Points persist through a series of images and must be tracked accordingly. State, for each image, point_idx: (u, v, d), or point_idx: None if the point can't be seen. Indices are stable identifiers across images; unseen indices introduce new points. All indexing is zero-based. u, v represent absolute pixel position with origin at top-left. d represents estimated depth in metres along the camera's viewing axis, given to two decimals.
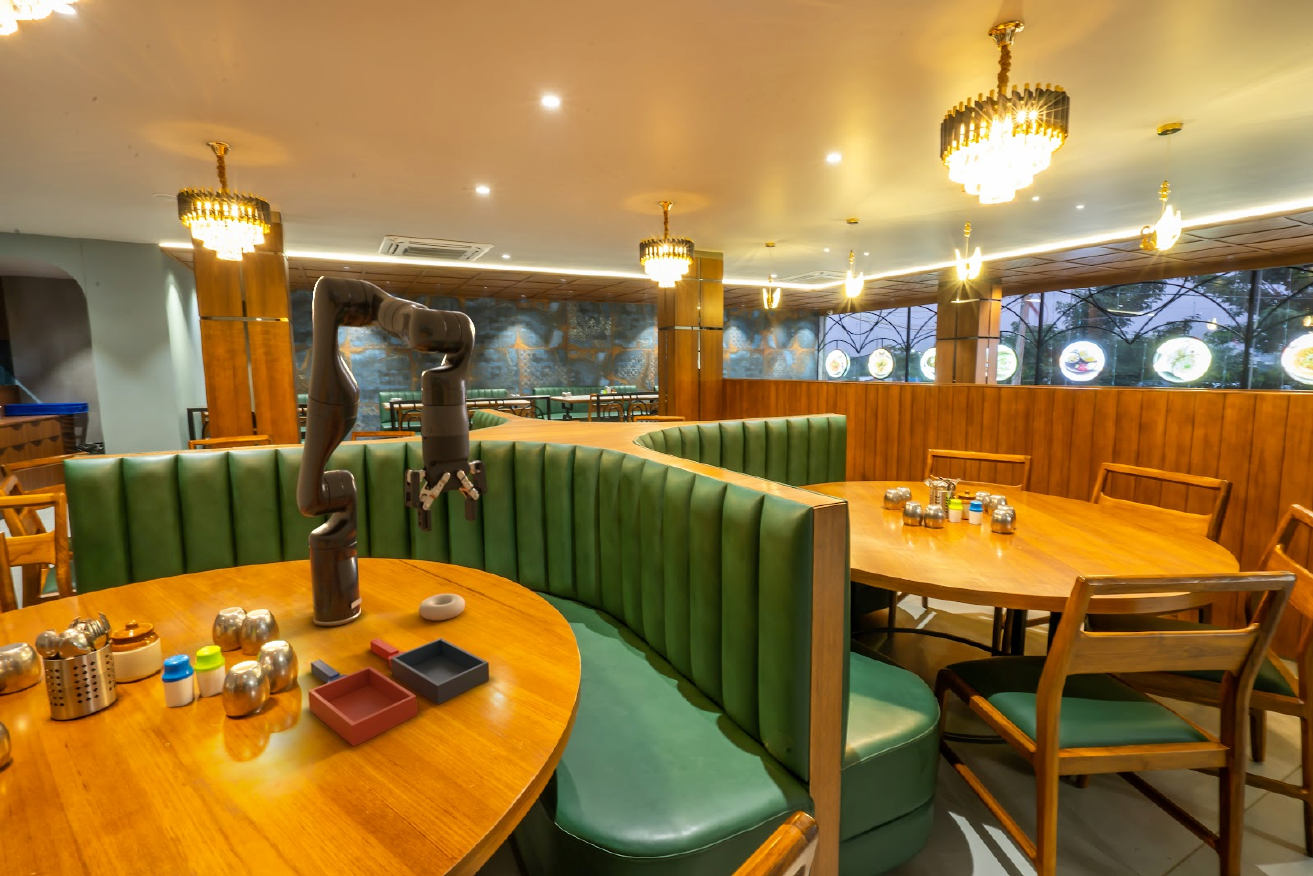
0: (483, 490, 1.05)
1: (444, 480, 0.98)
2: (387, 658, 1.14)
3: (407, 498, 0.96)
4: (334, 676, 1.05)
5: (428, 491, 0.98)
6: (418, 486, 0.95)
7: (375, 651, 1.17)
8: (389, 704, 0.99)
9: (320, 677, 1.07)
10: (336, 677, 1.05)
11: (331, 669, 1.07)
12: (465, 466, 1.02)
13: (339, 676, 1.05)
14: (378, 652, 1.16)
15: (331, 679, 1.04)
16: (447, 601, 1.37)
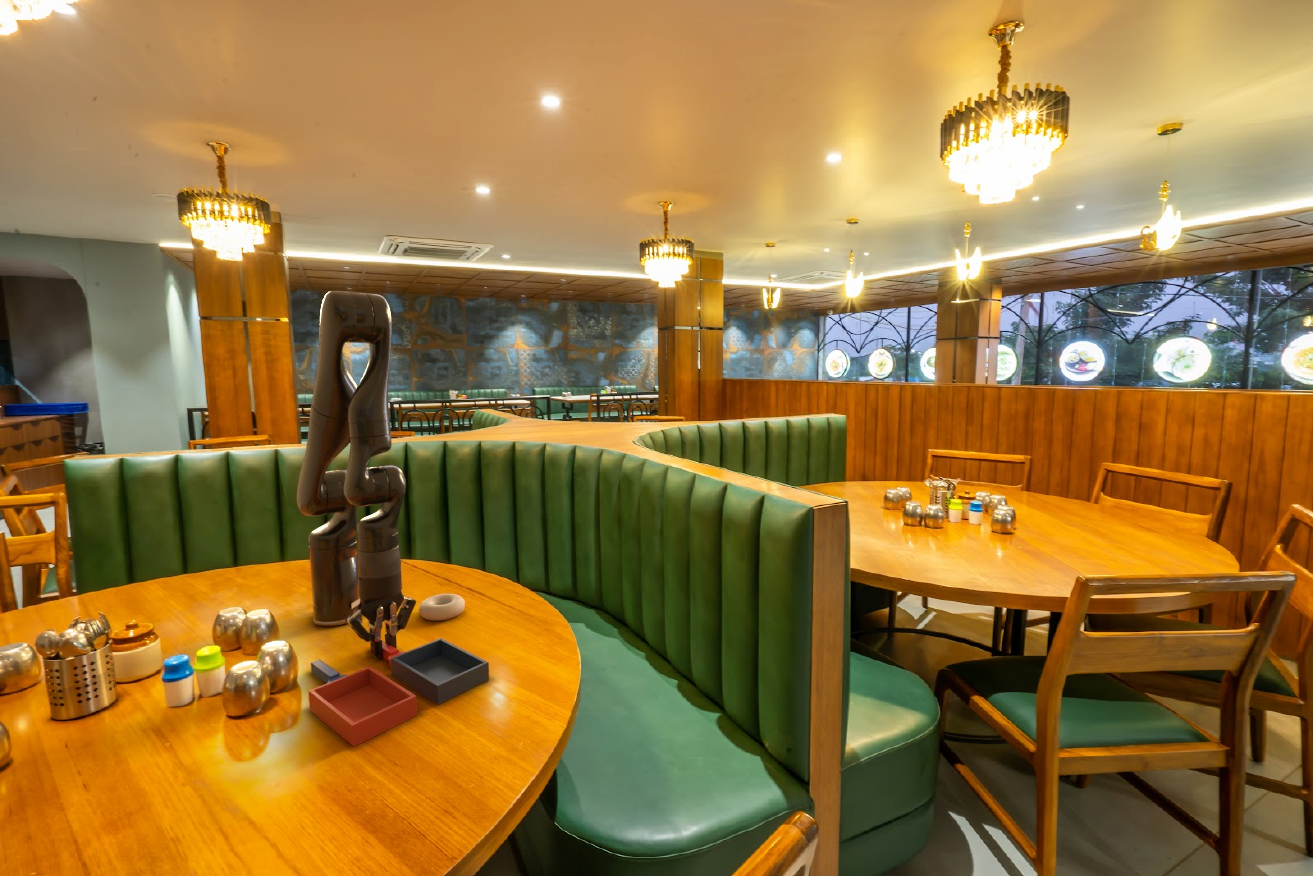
0: (402, 625, 1.17)
1: (380, 614, 1.13)
2: (387, 658, 1.14)
3: (359, 634, 1.13)
4: (334, 676, 1.05)
5: (373, 626, 1.13)
6: (361, 627, 1.11)
7: None
8: (389, 704, 0.99)
9: (320, 677, 1.07)
10: (336, 677, 1.05)
11: (331, 669, 1.07)
12: (398, 597, 1.16)
13: (339, 676, 1.05)
14: None
15: (331, 679, 1.04)
16: (447, 601, 1.37)
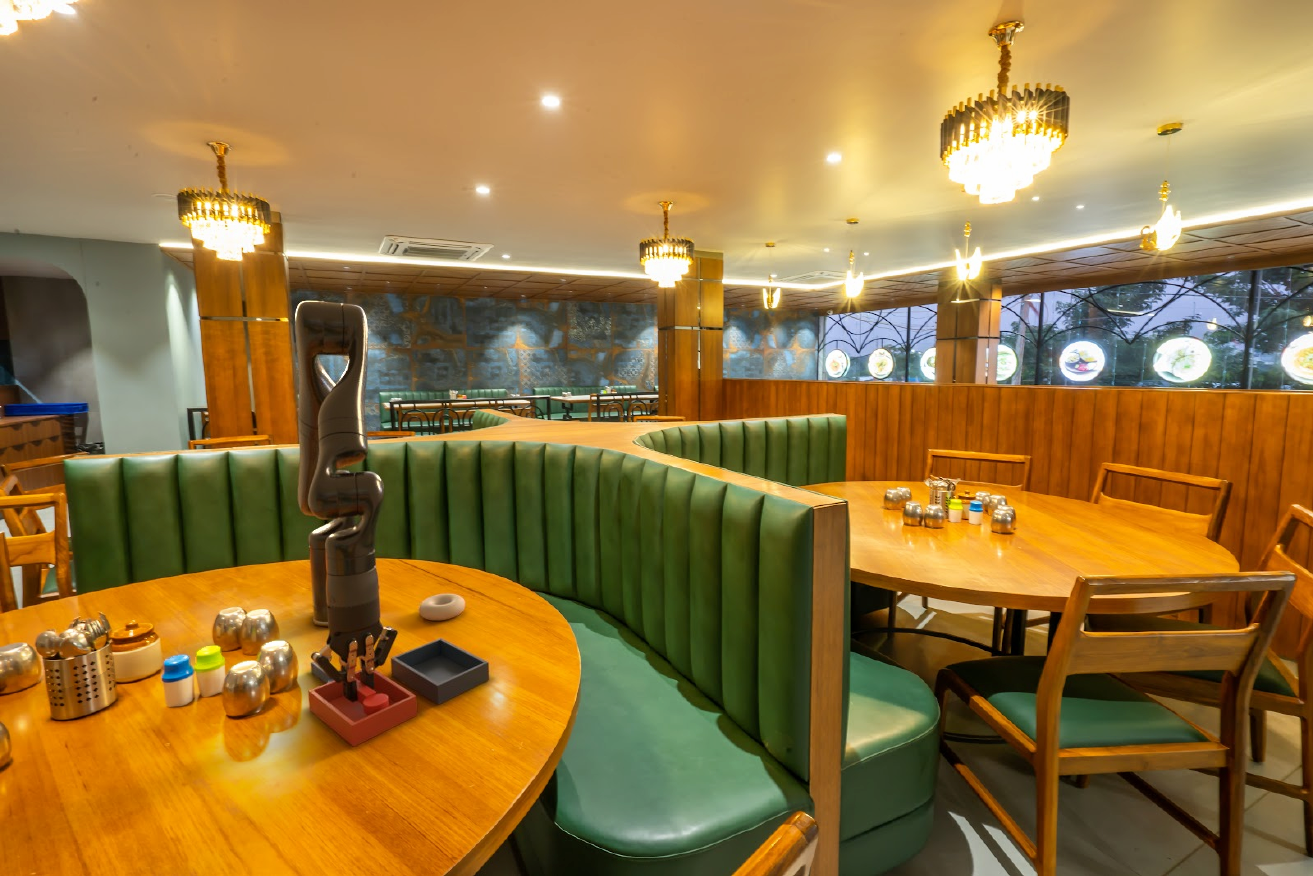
0: (381, 661, 0.98)
1: (353, 649, 0.94)
2: (362, 702, 0.95)
3: None
4: None
5: (345, 664, 0.95)
6: (331, 665, 0.92)
7: None
8: (389, 704, 0.99)
9: (320, 677, 1.07)
10: None
11: None
12: (376, 628, 0.97)
13: None
14: None
15: (331, 679, 1.04)
16: (447, 601, 1.37)
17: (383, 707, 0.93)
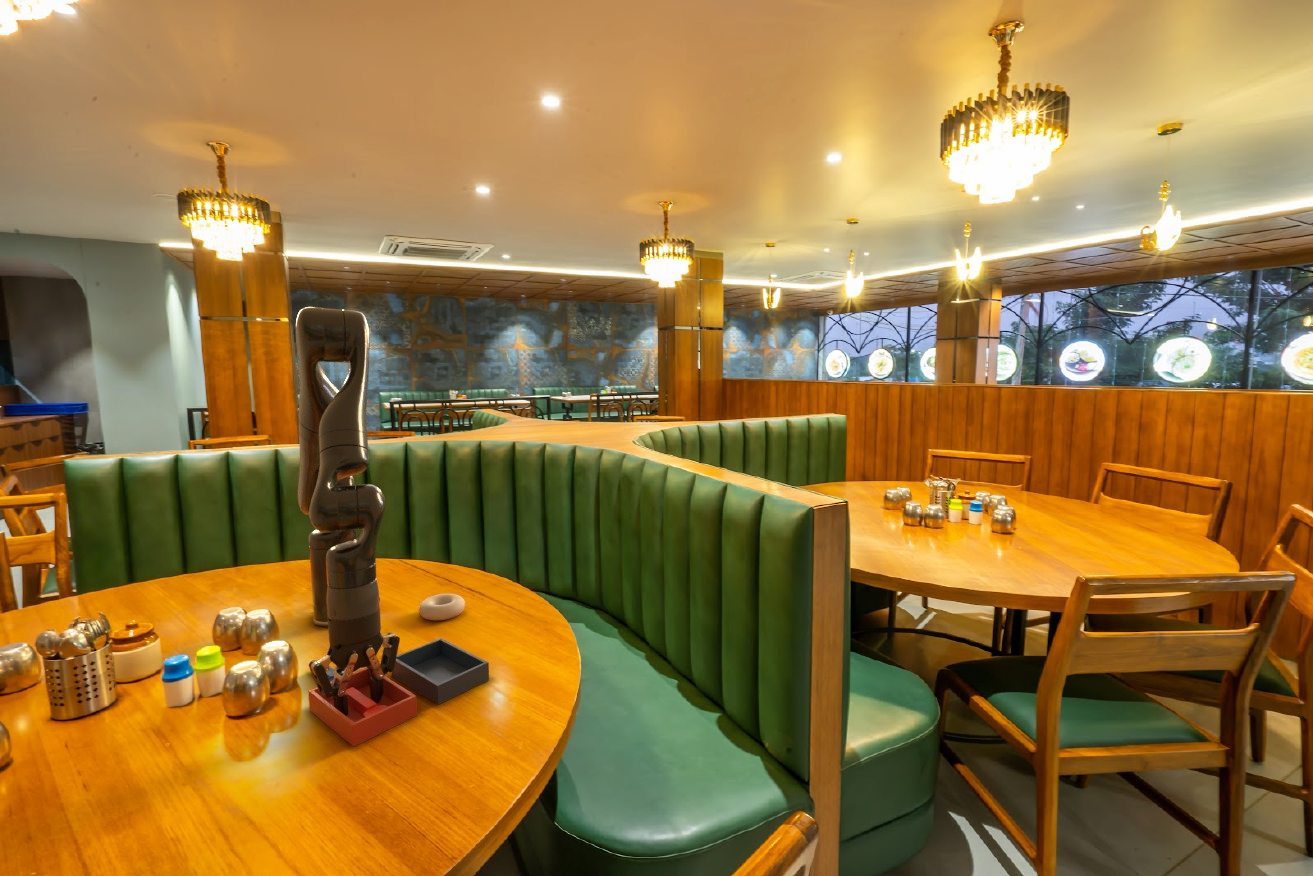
0: (389, 668, 1.00)
1: (352, 662, 0.94)
2: (363, 713, 0.95)
3: (320, 687, 0.93)
4: None
5: (340, 676, 0.94)
6: (326, 677, 0.92)
7: (349, 703, 0.98)
8: (389, 704, 0.99)
9: None
10: None
11: (331, 669, 1.07)
12: (377, 640, 0.98)
13: None
14: (352, 705, 0.97)
15: (331, 679, 1.04)
16: (447, 601, 1.37)
17: None
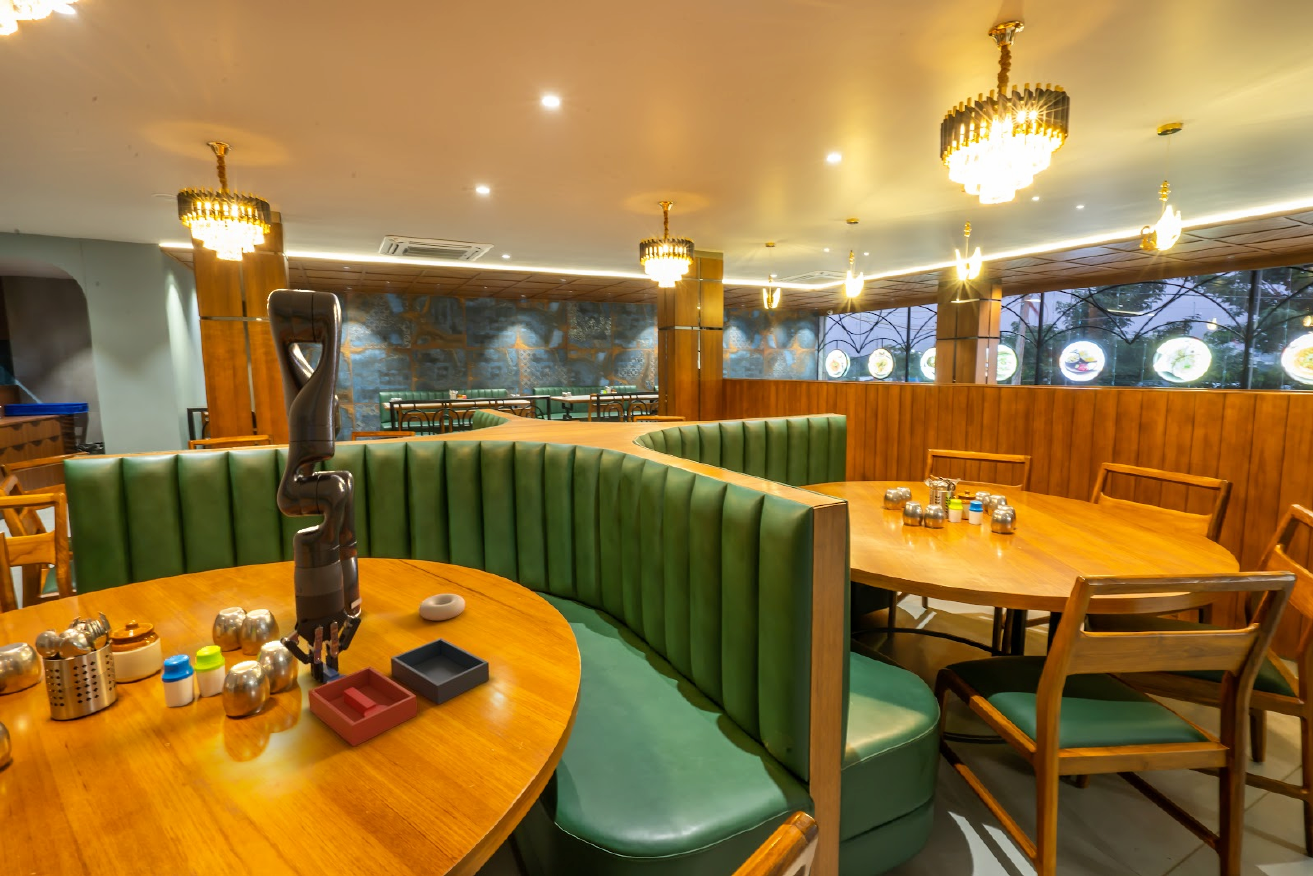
0: (344, 646, 1.08)
1: (319, 634, 1.04)
2: (363, 713, 0.95)
3: None
4: (334, 676, 1.05)
5: (312, 647, 1.05)
6: (298, 649, 1.02)
7: (349, 703, 0.98)
8: (389, 704, 0.99)
9: None
10: (336, 677, 1.05)
11: (331, 669, 1.07)
12: (340, 615, 1.08)
13: (339, 676, 1.05)
14: (352, 705, 0.97)
15: (331, 679, 1.04)
16: (447, 601, 1.37)
17: None
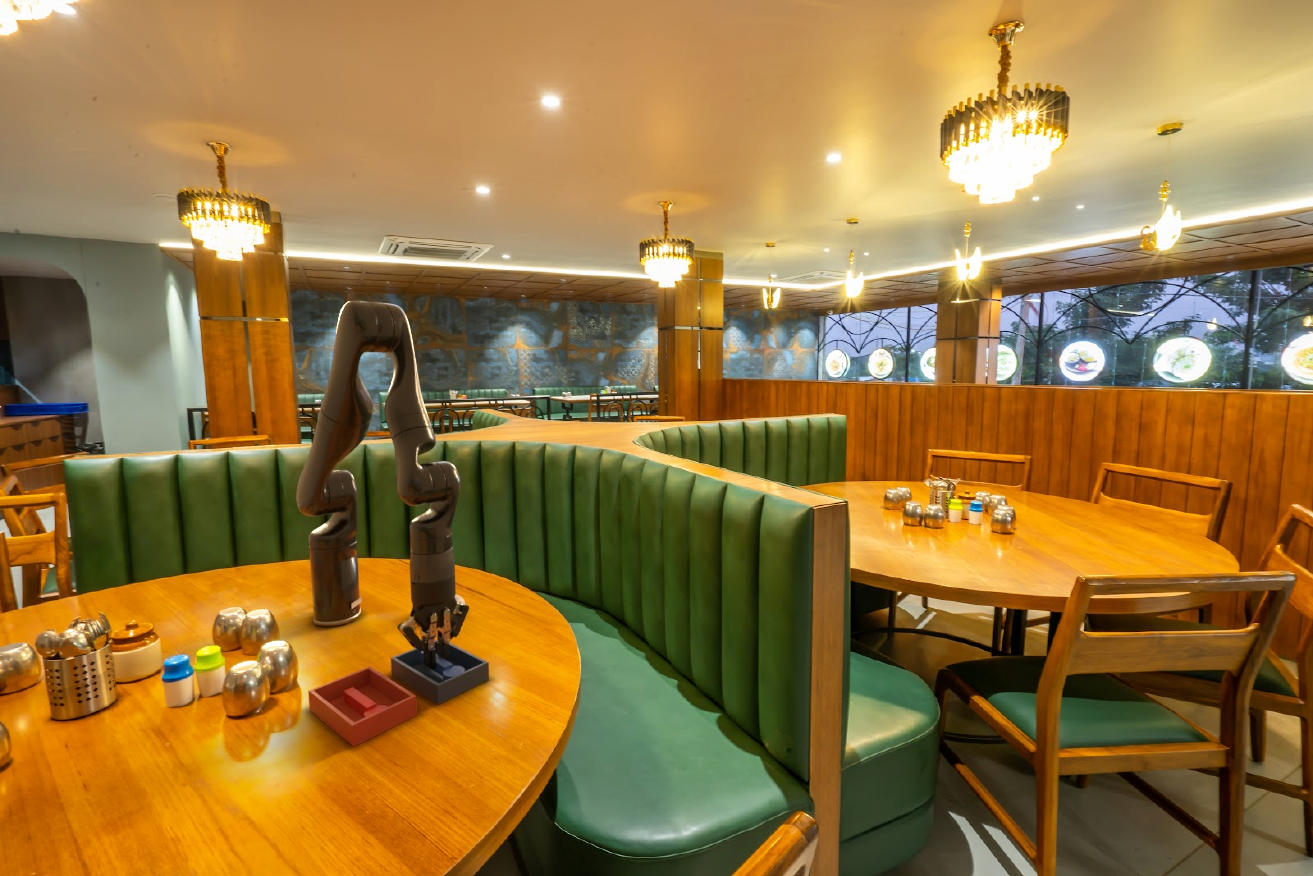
0: (455, 633, 1.09)
1: (434, 621, 1.05)
2: (363, 713, 0.95)
3: (412, 643, 1.05)
4: (448, 667, 1.06)
5: (426, 634, 1.05)
6: (415, 635, 1.03)
7: (349, 703, 0.98)
8: (389, 704, 0.99)
9: None
10: (450, 668, 1.06)
11: (443, 660, 1.08)
12: (451, 603, 1.08)
13: (452, 667, 1.06)
14: (352, 705, 0.97)
15: (446, 670, 1.05)
16: None
17: None
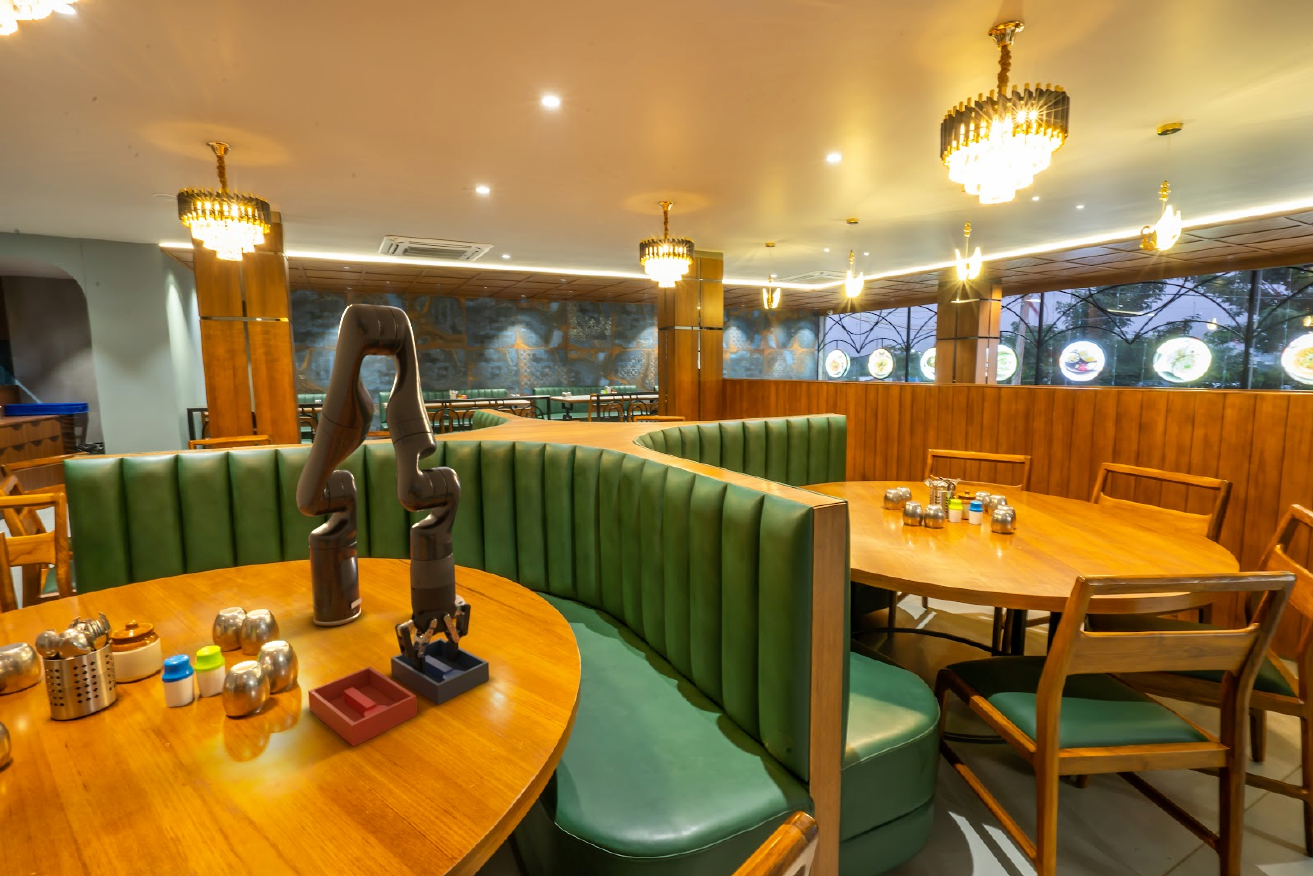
0: (464, 632, 1.11)
1: (432, 627, 1.05)
2: (363, 713, 0.95)
3: (402, 648, 1.03)
4: (448, 671, 1.06)
5: (420, 639, 1.05)
6: (409, 639, 1.02)
7: (349, 703, 0.98)
8: (389, 704, 0.99)
9: (432, 672, 1.08)
10: (450, 672, 1.06)
11: (443, 664, 1.08)
12: (452, 608, 1.09)
13: (452, 671, 1.06)
14: (352, 705, 0.97)
15: (446, 674, 1.05)
16: None
17: None
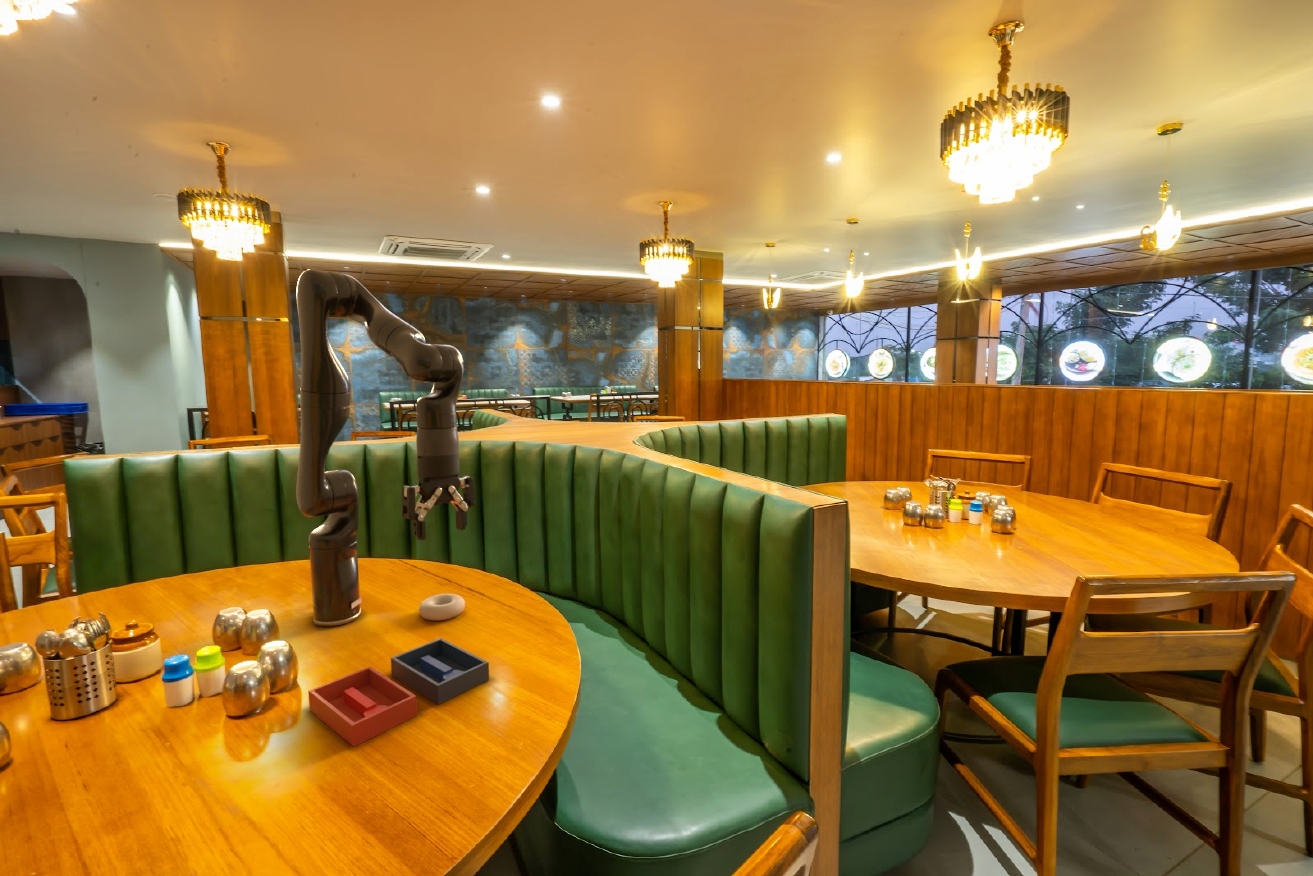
0: (472, 502, 1.18)
1: (437, 494, 1.11)
2: (363, 713, 0.95)
3: (404, 511, 1.09)
4: (448, 671, 1.06)
5: (422, 504, 1.10)
6: (414, 500, 1.08)
7: (349, 703, 0.98)
8: (389, 704, 0.99)
9: (432, 672, 1.08)
10: (450, 672, 1.06)
11: (443, 664, 1.08)
12: (456, 481, 1.15)
13: (452, 671, 1.06)
14: (352, 705, 0.97)
15: (446, 674, 1.05)
16: (447, 601, 1.37)
17: None
